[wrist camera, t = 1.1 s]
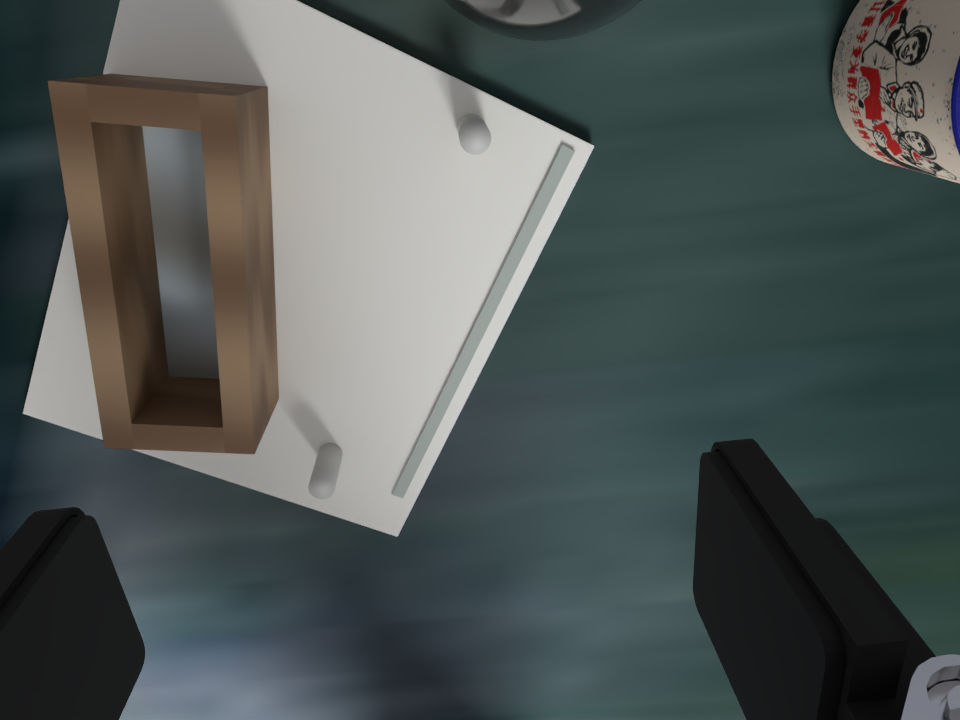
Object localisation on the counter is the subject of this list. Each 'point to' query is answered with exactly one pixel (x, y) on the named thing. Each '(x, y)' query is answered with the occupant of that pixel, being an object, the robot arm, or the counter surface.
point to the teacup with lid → (902, 83)
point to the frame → (173, 256)
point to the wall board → (347, 247)
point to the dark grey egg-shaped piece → (542, 16)
